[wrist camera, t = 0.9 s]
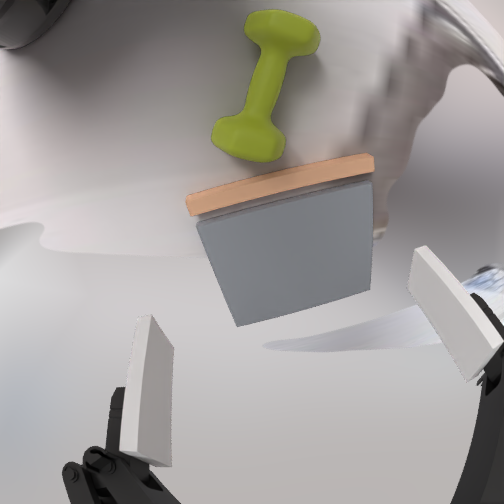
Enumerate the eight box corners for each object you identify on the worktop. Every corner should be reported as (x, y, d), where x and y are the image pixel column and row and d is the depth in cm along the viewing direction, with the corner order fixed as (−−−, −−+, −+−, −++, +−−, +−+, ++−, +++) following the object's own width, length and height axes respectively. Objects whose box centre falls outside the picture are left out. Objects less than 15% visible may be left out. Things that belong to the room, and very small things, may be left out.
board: (196, 222, 36) (196, 227, 35) (368, 179, 35) (372, 183, 34) (236, 321, 47) (237, 327, 46) (367, 285, 47) (369, 289, 46)
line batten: (186, 195, 34) (185, 202, 32) (366, 152, 33) (373, 156, 31) (191, 209, 35) (190, 216, 33) (367, 166, 34) (374, 171, 32)
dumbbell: (247, 14, 22) (256, -4, 16) (313, 36, 24) (338, 26, 18) (207, 141, 30) (205, 155, 24) (272, 156, 32) (285, 175, 26)
